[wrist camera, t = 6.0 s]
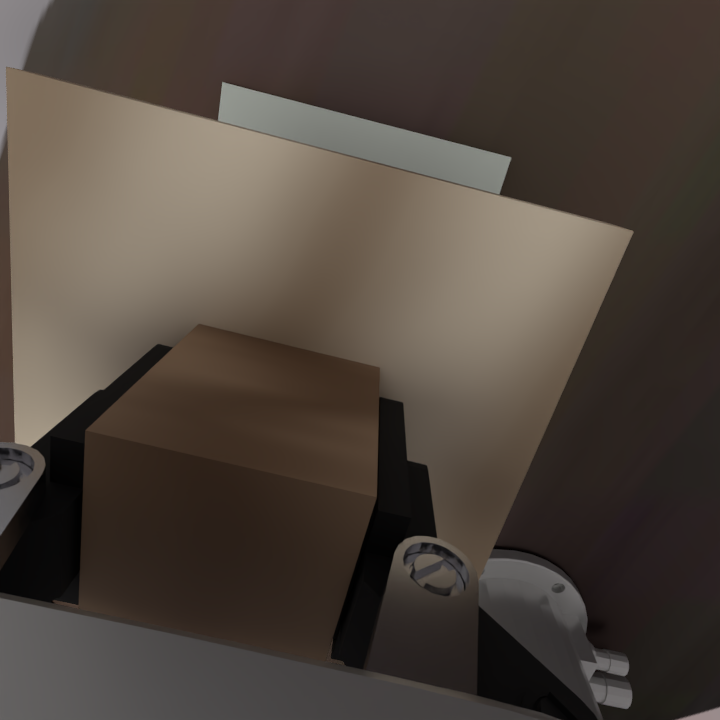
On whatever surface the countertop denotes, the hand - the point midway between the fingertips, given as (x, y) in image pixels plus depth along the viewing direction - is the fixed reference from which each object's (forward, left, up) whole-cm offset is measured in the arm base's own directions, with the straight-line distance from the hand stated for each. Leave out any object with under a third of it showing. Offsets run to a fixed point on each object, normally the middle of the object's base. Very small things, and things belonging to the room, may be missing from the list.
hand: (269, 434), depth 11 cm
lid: (0, 0, -1) cm, 1 cm away
